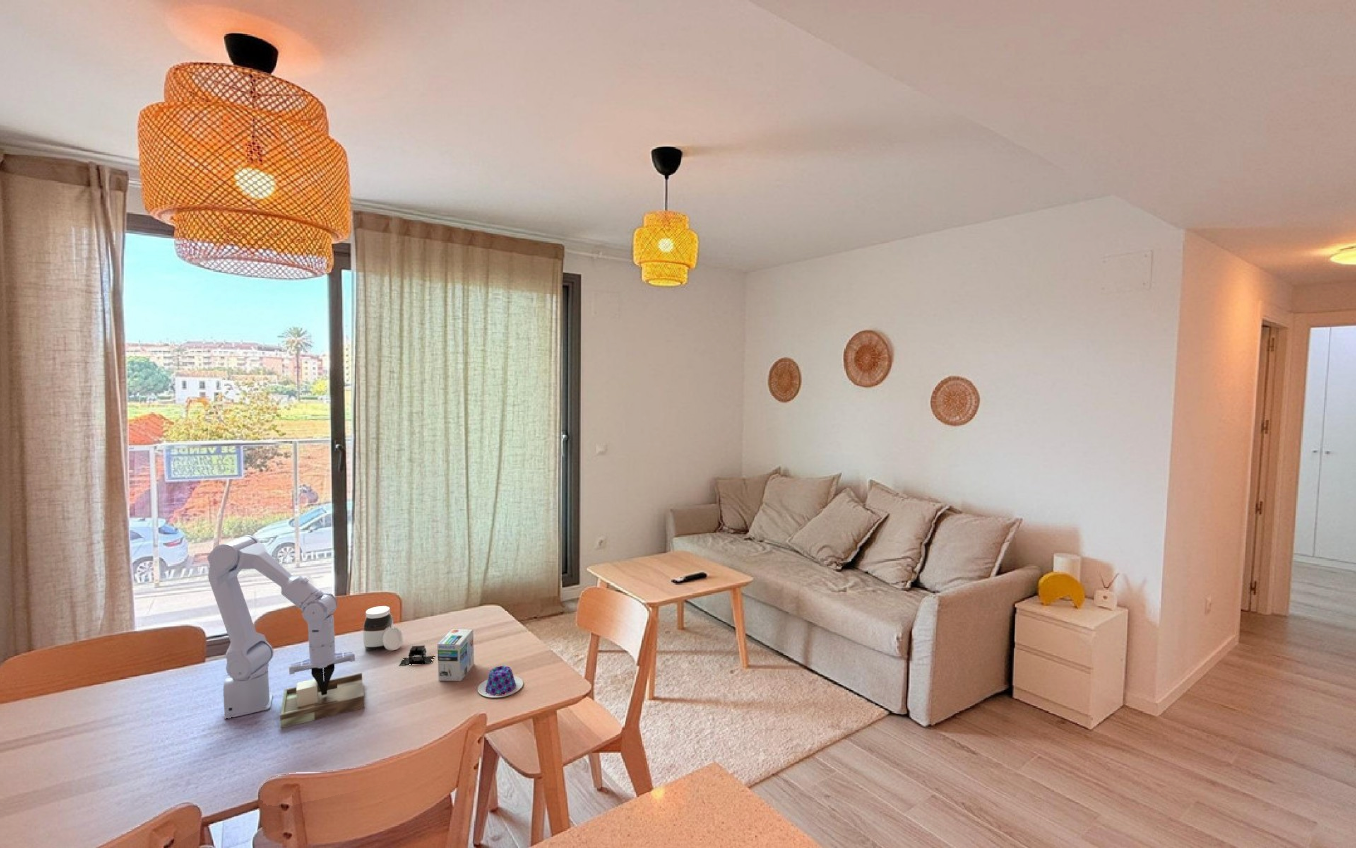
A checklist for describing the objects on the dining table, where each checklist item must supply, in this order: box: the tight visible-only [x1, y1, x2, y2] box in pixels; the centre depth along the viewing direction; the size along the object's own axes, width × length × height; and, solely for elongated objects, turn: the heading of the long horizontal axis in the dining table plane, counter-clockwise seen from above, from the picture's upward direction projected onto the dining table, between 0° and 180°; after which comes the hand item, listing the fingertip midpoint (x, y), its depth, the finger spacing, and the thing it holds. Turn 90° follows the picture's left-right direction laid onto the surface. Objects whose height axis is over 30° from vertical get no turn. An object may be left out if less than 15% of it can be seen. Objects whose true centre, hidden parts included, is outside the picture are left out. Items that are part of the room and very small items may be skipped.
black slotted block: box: [398, 644, 436, 667], centre depth 180 cm, size 12×7×5 cm, turn 100°
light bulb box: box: [437, 628, 475, 682], centre depth 172 cm, size 11×7×11 cm, turn 179°
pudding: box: [477, 665, 524, 698], centre depth 164 cm, size 12×12×5 cm
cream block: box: [296, 678, 318, 707], centre depth 153 cm, size 4×4×4 cm
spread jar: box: [362, 605, 404, 652], centre depth 189 cm, size 12×11×12 cm
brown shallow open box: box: [279, 672, 365, 729], centre depth 155 cm, size 18×14×3 cm
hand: (324, 693), depth 155 cm, fingers closed
